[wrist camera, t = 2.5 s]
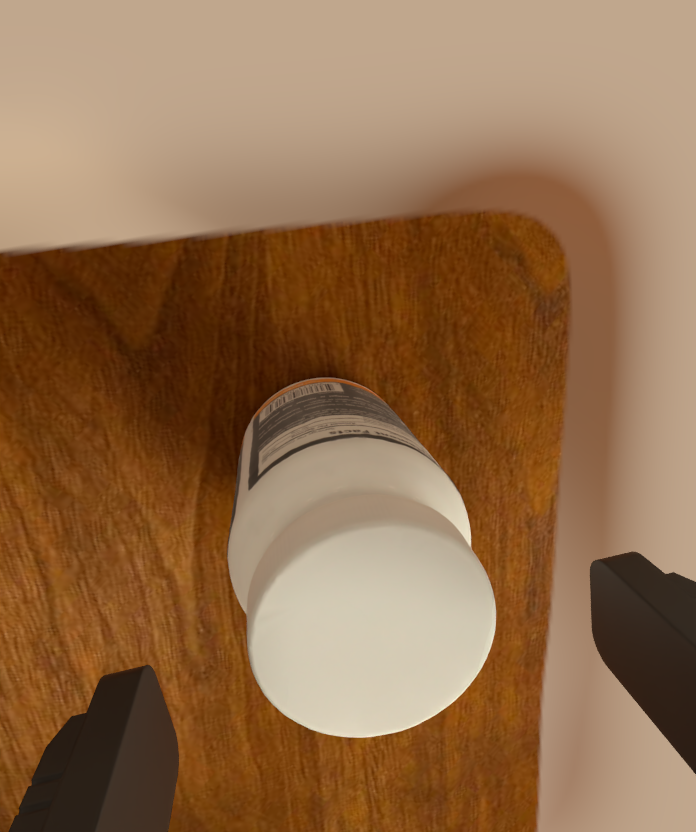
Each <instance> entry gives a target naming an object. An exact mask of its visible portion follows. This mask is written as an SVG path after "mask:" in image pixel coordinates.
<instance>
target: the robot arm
mask: <svg viewBox="0 0 696 832" xmlns="http://www.w3.org/2000/svg"><path fill="white" fill-rule="evenodd" d="M590 588H591V615H592V616H591V617H592V633H593V638H594V641H595V644H596V647H597V650H598V652H599V654H600V656H601V657H602V659H603V661H604V662H605V664H606V665H607V667H608V668H609V669H610V670H611V671H612V673H613V674H614V675H615V677H616V678H617V679H618V680H619V681H620V683H621V684H622V685H623V686H624V687H625V689H626V690H627V691H628V692H629V694H630V695H631V696H632V697H633V698H634V700H635V701H636V702H637V703H638V705H639V706H640V707H641V708H642V709H643V711H644V712H645V713H646V714H647V715H648V717H649V718H650V719H651V720H652V722H653V723H654V724H655V725H656V726H657V728H658V729H659V730H660V731H661V732H662V734H663V735H664V736H665V737H666V738H667V740H668V741H669V742H670V743H671V745H672V746H673V747H674V748H675V749H676V751H677V752H678V753H679V754H680V756H681V757H682V758H683V759H684V760H685V762H686V763H687V764H688V765H689V767H691V769H692V770H693V771H694V773H695V774H696V582H694V581H692V580H690V579H688V578H685V577H683V576H681V575H678V574H676V573H669V574H665V573H663V572H662V571H661V570H660V569H658V568H657V567H656V566H655V565H653V564H652V563H651V562H650V561H649V560H647V559H646V558H645V557H644V556H642V555H641V554H639V553H637V552H629V553H624V554H620V555H616V556H612V557H608V558H604V559H599V560H595V561H593V562H592V564H591V567H590ZM178 766H179V753H178V743H177V737H176V733H175V729H174V726H173V724H172V721H171V718H170V715H169V712H168V709H167V706H166V703H165V700H164V697H163V694H162V691H161V689H160V686H159V683H158V680H157V677H156V674H155V672H154V670H153V668H152V667H151V666H150V665H146V666H142V667H137V668H133V669H129V670H125V671H121V672H116V673H112V674H108V675H104V676H103V677H102V678H101V679H100V681H99V683H98V685H97V688H96V690H95V693H94V695H93V698H92V700H91V703H90V705H89V708H88V711H87V713H84V714H80V715H76V716H72V717H71V718H70V719H69V720H68V721H67V723H66V724H65V725H64V726H63V727H62V729H61V730H60V731H59V732H58V733H57V735H56V736H55V737H54V738H53V740H52V741H51V742H50V743H49V744H48V746H47V747H46V749H45V751H44V753H43V756H42V758H41V760H40V762H39V765H38V767H37V769H36V771H35V774H34V776H33V778H32V786H30V787H28V789H27V791H26V794H25V796H24V798H23V800H22V803H21V805H20V807H19V815H17V816H15V818H14V821H13V823H12V825H11V827H10V830H9V832H168V829H169V823H170V817H171V811H172V805H173V799H174V793H175V787H176V782H177V776H178Z"/></svg>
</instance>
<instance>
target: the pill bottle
mask: <svg viewBox="0 0 696 832" xmlns="http://www.w3.org/2000/svg"><path fill="white" fill-rule="evenodd" d="M227 557H228V566H229V572H230V578H231V581H232V585H233V588H234V591H235V594H236V596H237V598H238V601H239V603H240V605H241V606H242V608H243V610H244V612H245V613H246V615H247V646H248V654H249V660H250V664H251V668H252V671H253V674H254V676H255V679H256V681H257V683H258V684H259V686H260V688H261V690H262V691H263V693H264V694H265V696H266V697H267V698H268V699H269V701H270V702H271V703H272V704H273V705H274V706H275V707H276V708H277V709H278V710H279V711H281V712H282V713H283V714H284V715H285V716H287V717H288V718H290V719H292V720H293V721H295V722H297V723H299V724H301V725H303V726H305V727H307V728H309V729H312V730H314V731H317V732H320V733H324V734H328V735H335V736H341V737H358V738H360V737H373V736H379V735H385V734H390V733H395V732H399V731H402V730H405V729H408V728H411V727H413V726H415V725H417V724H420V723H421V722H423V721H425V720H427V719H429V718H431V717H433V716H434V715H436V714H437V713H439V712H440V711H442V710H443V709H445V708H446V707H447V706H449V705H450V704H451V703H452V702H454V701H455V700H456V699H457V698H458V697H459V696H460V695H461V694H462V693H463V692H464V691H465V690H466V689H467V687H468V686H469V685H470V684H471V682H472V681H473V680H474V679H475V677H476V676H477V674H478V673H479V671H480V670H481V668H482V666H483V664H484V662H485V660H486V658H487V655H488V653H489V651H490V648H491V645H492V641H493V638H494V633H495V625H496V606H495V599H494V594H493V590H492V587H491V583H490V581H489V578H488V576H487V574H486V571H485V569H484V568H483V566H482V564H481V563H480V561H479V559H478V558H477V556H476V555H475V553H474V552H473V550H472V549H471V533H470V525H469V520H468V516H467V512H466V509H465V506H464V502H463V499H462V497H461V495H460V493H459V491H458V490H457V488H456V486H455V485H454V483H453V481H452V480H451V479H450V478H449V476H448V475H447V474H446V473H445V472H444V471H443V469H442V468H441V467H440V466H439V465H438V463H437V462H436V461H435V460H434V458H433V457H432V456H431V455H430V454H429V452H428V451H427V450H426V449H425V448H424V447H423V446H422V444H421V443H420V442H419V441H418V440H417V439H416V437H415V436H414V435H413V434H412V432H411V431H410V430H409V429H408V428H407V426H406V425H405V424H404V423H403V422H402V420H401V419H400V418H399V417H398V416H397V415H396V413H395V412H394V411H393V410H392V409H391V408H390V407H389V406H388V404H386V403H385V402H384V400H382V399H381V398H380V397H379V396H378V395H377V394H375V393H374V392H372V391H371V390H369V389H367V388H366V387H364V386H362V385H359V384H357V383H354V382H351V381H348V380H344V379H339V378H328V377H325V378H313V379H308V380H303V381H300V382H297V383H294V384H292V385H290V386H287V387H285V388H283V389H282V390H280V391H279V392H277V393H276V394H274V395H273V396H272V397H270V398H269V399H268V400H267V401H266V402H265V403H264V404H263V405H262V406H261V407H260V409H259V410H258V411H257V412H256V413H255V415H254V416H253V418H252V420H251V422H250V424H249V425H248V427H247V430H246V432H245V435H244V438H243V442H242V446H241V451H240V456H239V464H238V472H237V481H236V491H235V498H234V505H233V511H232V518H231V525H230V534H229V539H228V550H227Z"/></svg>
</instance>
